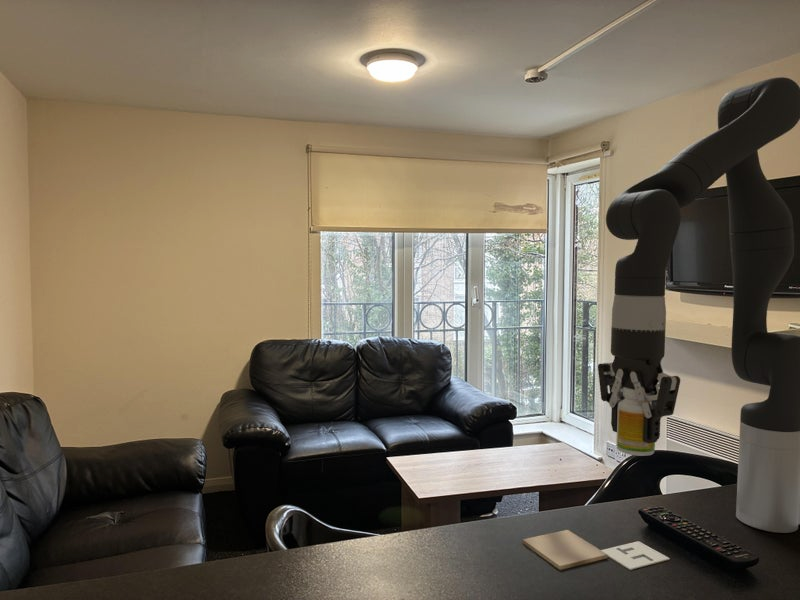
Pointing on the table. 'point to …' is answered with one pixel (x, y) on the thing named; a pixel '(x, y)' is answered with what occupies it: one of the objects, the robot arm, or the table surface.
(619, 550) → the tile
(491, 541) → the table surface
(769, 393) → the robot arm
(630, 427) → the supplement bottle
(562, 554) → the oak coaster
